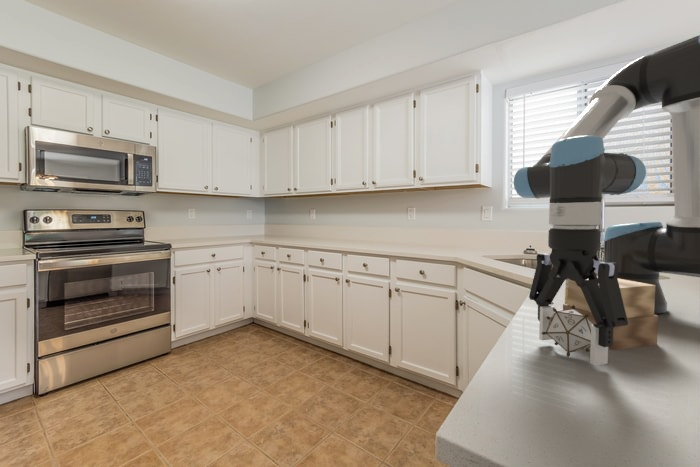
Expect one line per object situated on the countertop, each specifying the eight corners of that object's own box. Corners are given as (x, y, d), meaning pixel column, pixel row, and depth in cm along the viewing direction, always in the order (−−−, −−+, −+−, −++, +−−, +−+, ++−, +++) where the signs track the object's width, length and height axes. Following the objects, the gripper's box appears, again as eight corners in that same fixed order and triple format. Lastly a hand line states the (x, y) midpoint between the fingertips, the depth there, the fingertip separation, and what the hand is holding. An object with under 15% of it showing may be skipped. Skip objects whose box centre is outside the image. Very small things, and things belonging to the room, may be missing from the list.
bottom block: (601, 326, 73) (602, 301, 72) (657, 345, 62) (658, 315, 62) (562, 330, 70) (563, 304, 70) (613, 351, 60) (614, 320, 59)
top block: (602, 301, 72) (603, 275, 71) (653, 315, 62) (655, 285, 62) (567, 305, 69) (568, 278, 69) (615, 319, 60) (616, 288, 59)
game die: (583, 375, 56) (623, 345, 50) (534, 355, 57) (568, 323, 51) (573, 335, 63) (608, 304, 56) (529, 318, 64) (559, 286, 58)
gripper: (510, 225, 66) (508, 330, 67) (624, 231, 44) (618, 385, 45) (540, 224, 67) (538, 326, 69) (665, 229, 46) (658, 378, 47)
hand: (570, 350), depth 57 cm, fingers closed on game die, 10 cm apart
